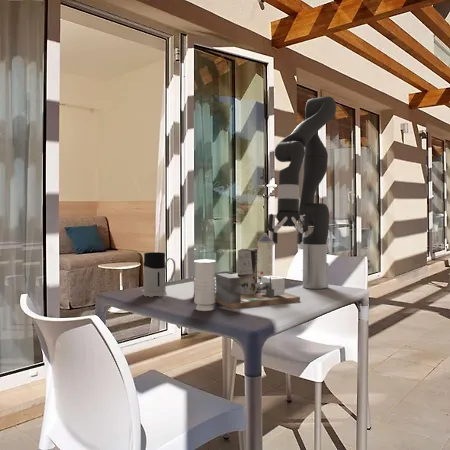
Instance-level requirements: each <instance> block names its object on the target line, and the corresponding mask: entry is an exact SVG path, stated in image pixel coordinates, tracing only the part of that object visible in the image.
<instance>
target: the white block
mask: <svg viewBox="0 0 450 450" xmlns="http://www.w3.org/2000/svg"><path fill="white" fill-rule="evenodd" d="M270 277H271V289H274V296H277V295H285V293H286V292H285V288H286V287H285V278H284V277H281V276H277V275H273V274H272V276H261V278H260V282H257V284H256V290H257V291H260V293H264V294H266V288H270Z"/></svg>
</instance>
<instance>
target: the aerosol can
mask: <svg viewBox="0 0 450 450" xmlns="http://www.w3.org/2000/svg"><path fill="white" fill-rule="evenodd" d="M273 244H274V242H273V241H272V239H271V238H270V236H269V235H268V233H266V232H263V233H262V235H261V237H259V239H257V248H256V249H257V277H259V278H258V279H261V276H273V260H274V259H273V256H274V255H273V253H274V252H273V249H274V248H273Z"/></svg>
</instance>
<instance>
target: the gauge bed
mask: <svg viewBox="0 0 450 450" xmlns="http://www.w3.org/2000/svg"><path fill="white" fill-rule="evenodd" d="M215 278H216V280H215V282H216V284H215V286H216V288H215V289H216V291H215V300H216V302H215V303H217V304H219V305H221V306H223V307H226V308H227V309H229V310H233V309H242V308H243V309H244V308H252V307H253V308H254V307H260V306H271V305H278V304H279V305H280V304H288V303H297V302H301V296H297V295H295V294H291V293H288V292H285V295H277V296H274V297H269V296H266V294H264V293H261V292H256V293H255V294H241V277H238V275H235V274H231V273H224V272H223V273H215Z"/></svg>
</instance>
